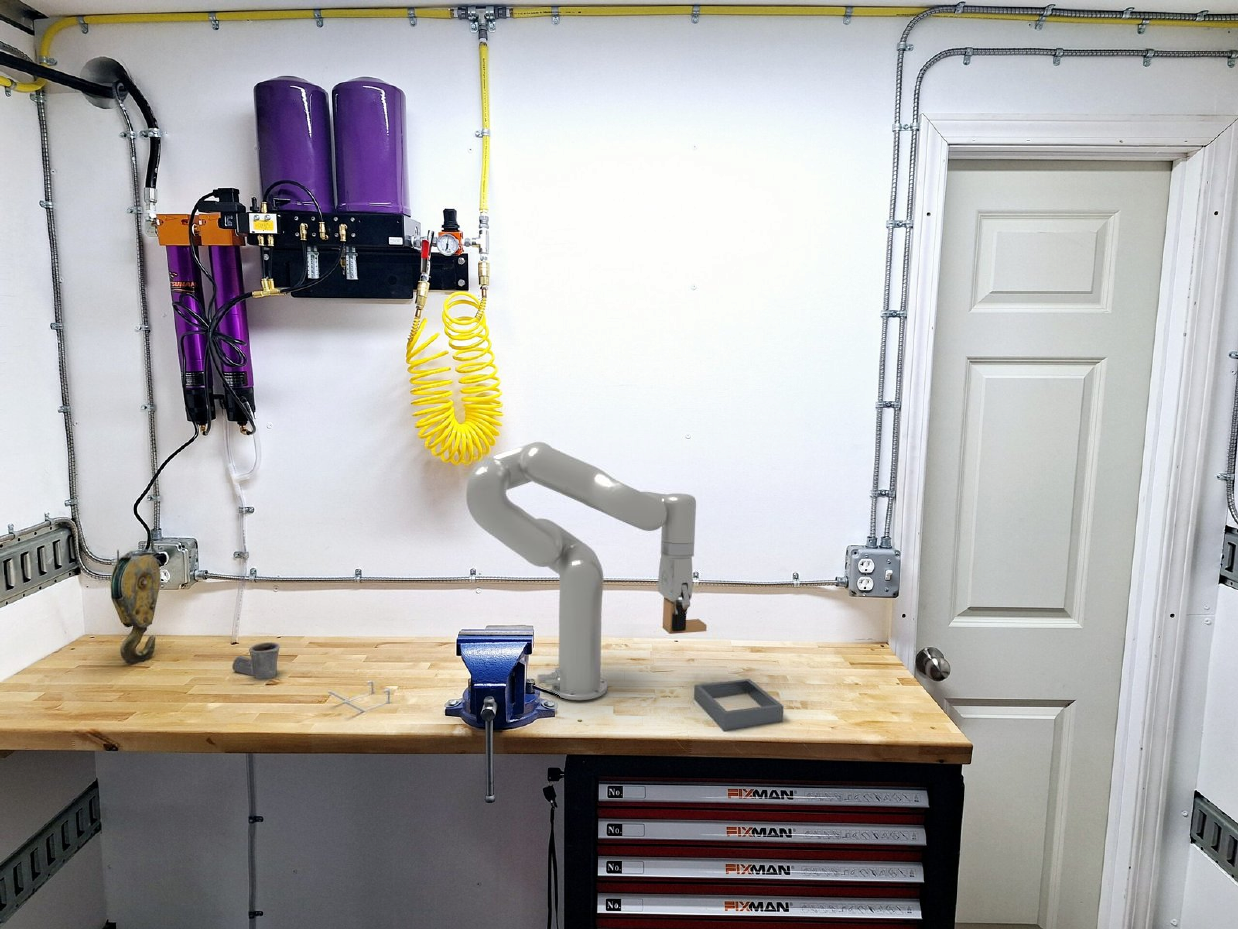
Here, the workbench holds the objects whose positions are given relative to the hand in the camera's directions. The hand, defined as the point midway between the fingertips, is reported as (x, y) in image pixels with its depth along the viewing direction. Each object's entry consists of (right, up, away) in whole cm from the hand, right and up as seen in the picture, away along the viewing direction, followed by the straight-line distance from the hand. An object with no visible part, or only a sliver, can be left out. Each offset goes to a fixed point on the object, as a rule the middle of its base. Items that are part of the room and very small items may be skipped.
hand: (674, 626), depth 166 cm
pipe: (-99, -14, +7) cm, 100 cm away
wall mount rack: (-69, -16, -9) cm, 71 cm away
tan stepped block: (+2, -1, +1) cm, 3 cm away
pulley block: (-132, -12, +14) cm, 133 cm away
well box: (+13, -17, -10) cm, 24 cm away
